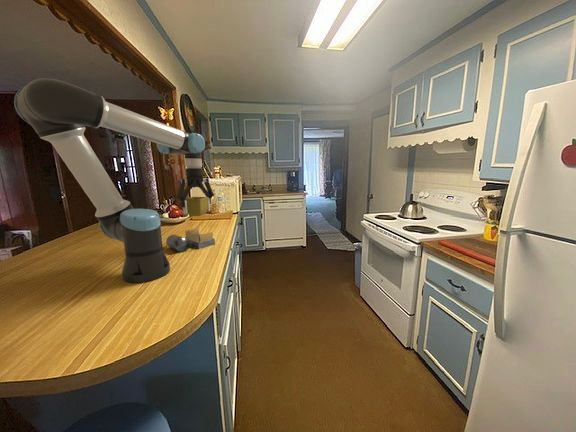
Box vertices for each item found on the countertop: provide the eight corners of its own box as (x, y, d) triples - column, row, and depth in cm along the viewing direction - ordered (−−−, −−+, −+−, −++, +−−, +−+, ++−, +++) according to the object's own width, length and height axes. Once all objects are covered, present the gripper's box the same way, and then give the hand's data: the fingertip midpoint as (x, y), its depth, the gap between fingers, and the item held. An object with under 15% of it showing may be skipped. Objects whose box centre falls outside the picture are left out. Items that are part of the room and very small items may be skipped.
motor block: (215, 244, 119) (214, 232, 118) (179, 254, 105) (177, 240, 104) (200, 239, 128) (199, 227, 127) (165, 248, 114) (163, 235, 113)
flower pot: (194, 213, 122) (192, 196, 121) (209, 214, 121) (208, 196, 119) (184, 217, 114) (182, 198, 112) (201, 217, 113) (199, 199, 111)
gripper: (211, 167, 124) (213, 208, 129) (164, 167, 106) (169, 214, 110) (219, 167, 120) (221, 209, 124) (172, 167, 101) (177, 216, 106)
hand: (197, 212), depth 117 cm, fingers closed on flower pot, 11 cm apart
